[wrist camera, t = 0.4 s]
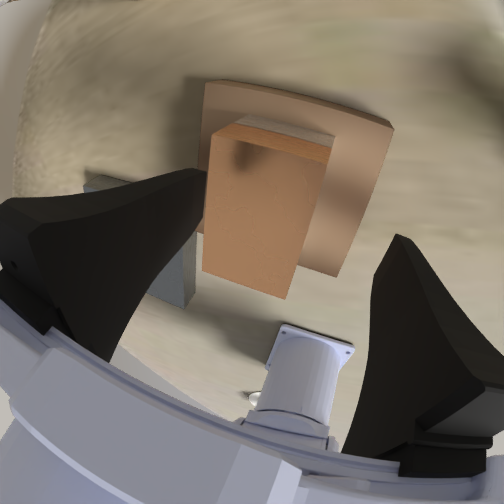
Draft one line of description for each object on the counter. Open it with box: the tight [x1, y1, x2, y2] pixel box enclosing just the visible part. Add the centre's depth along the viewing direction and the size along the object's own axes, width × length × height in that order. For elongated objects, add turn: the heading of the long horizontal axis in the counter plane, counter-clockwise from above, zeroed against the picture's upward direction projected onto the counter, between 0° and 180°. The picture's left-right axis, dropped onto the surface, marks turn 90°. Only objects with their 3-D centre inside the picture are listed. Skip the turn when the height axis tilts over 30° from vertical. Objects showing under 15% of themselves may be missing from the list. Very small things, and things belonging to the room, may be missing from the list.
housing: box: [202, 114, 335, 300], centre depth 16 cm, size 8×5×5 cm, turn 171°
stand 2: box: [195, 80, 394, 278], centre depth 19 cm, size 11×11×2 cm
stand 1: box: [83, 175, 197, 309], centre depth 27 cm, size 11×11×2 cm
